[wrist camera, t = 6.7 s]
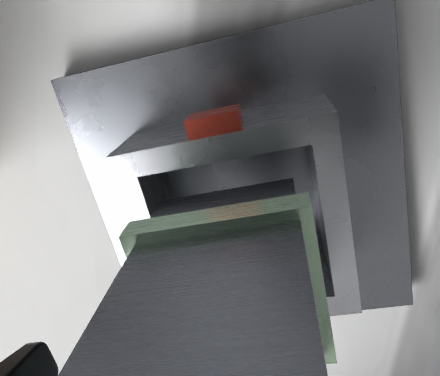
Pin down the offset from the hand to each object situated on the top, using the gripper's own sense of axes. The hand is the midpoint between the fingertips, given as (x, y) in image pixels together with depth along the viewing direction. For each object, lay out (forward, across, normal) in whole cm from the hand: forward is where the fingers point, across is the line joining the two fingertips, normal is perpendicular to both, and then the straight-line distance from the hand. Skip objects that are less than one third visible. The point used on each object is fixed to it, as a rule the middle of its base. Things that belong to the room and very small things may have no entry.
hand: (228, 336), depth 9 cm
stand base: (+8, 0, 0) cm, 8 cm away
